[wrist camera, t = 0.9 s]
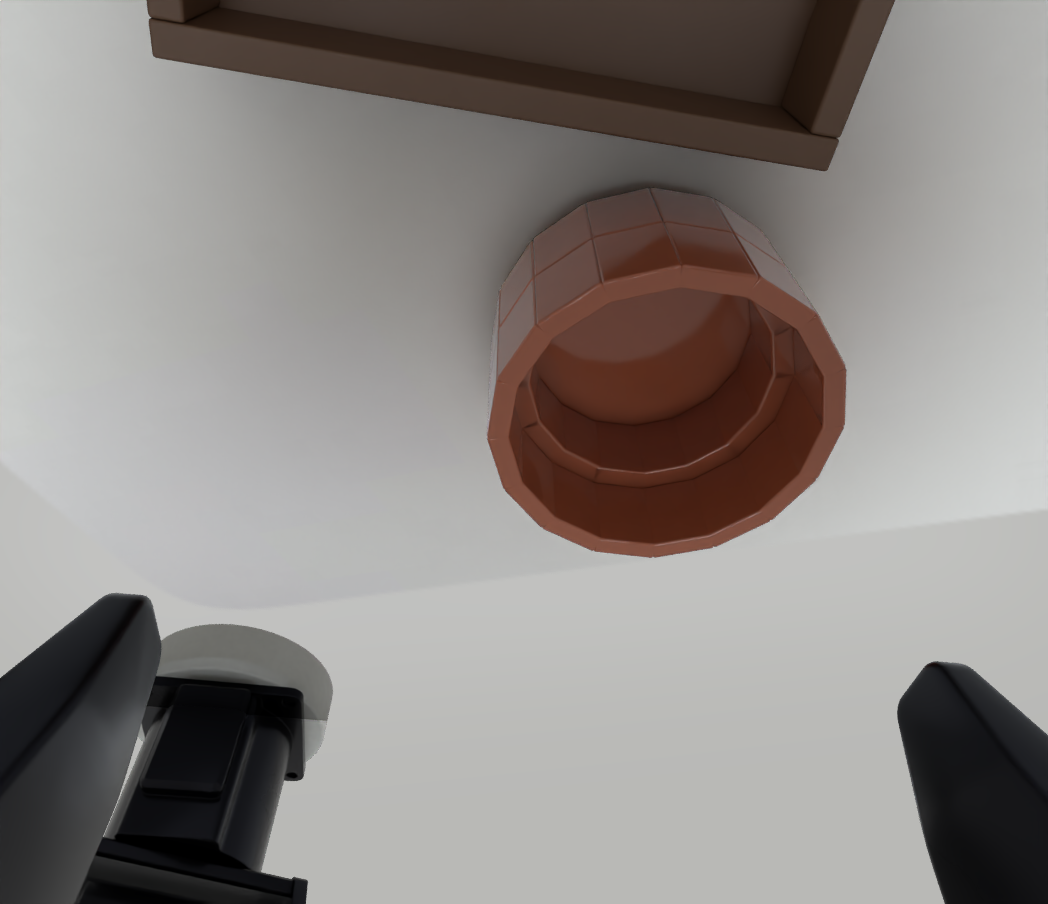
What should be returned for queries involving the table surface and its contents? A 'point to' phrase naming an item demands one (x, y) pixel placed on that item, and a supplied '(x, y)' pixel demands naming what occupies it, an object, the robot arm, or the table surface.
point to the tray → (566, 61)
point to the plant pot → (658, 377)
